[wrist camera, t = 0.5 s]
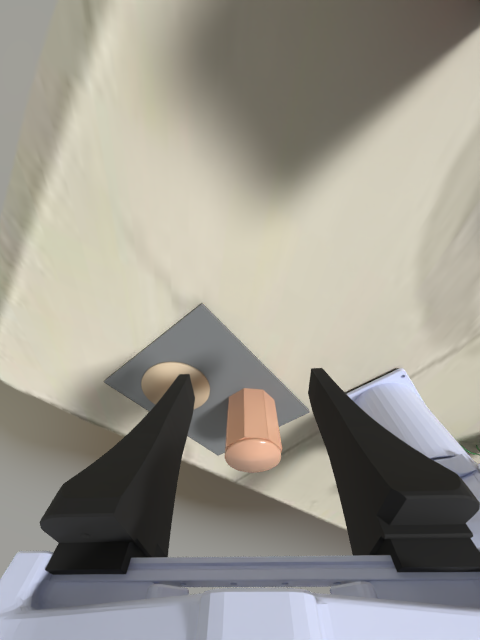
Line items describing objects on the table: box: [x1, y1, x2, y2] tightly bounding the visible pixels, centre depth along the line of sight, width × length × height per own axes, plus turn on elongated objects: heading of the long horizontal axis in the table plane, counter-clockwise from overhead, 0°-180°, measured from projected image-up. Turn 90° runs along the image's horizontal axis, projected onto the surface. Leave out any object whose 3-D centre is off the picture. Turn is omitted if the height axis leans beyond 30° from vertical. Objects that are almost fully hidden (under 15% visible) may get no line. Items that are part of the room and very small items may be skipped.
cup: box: [225, 388, 282, 473], centre depth 25 cm, size 6×6×6 cm
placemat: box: [104, 303, 309, 455], centre depth 28 cm, size 20×16×1 cm
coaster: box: [141, 362, 210, 409], centre depth 26 cm, size 8×8×1 cm
